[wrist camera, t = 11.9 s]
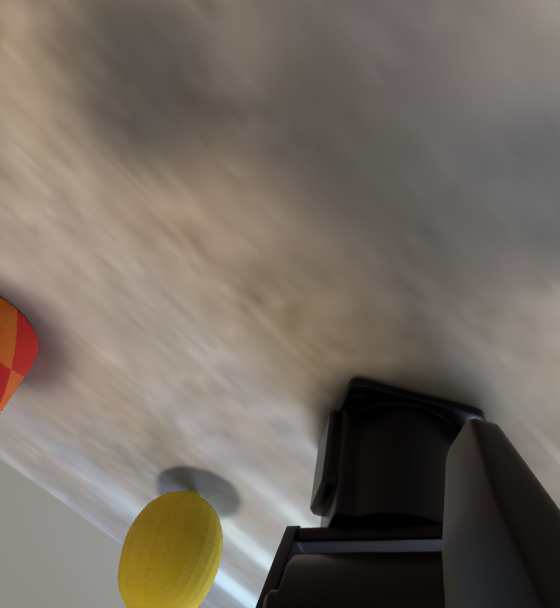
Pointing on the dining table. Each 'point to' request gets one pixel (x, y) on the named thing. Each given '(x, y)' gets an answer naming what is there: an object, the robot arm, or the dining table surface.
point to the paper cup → (14, 350)
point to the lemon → (171, 553)
